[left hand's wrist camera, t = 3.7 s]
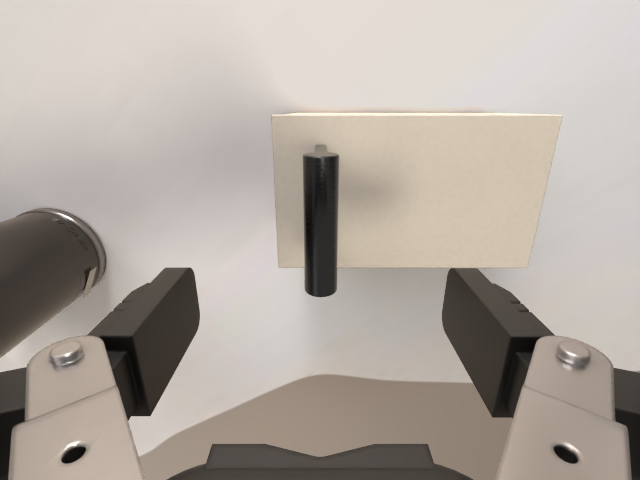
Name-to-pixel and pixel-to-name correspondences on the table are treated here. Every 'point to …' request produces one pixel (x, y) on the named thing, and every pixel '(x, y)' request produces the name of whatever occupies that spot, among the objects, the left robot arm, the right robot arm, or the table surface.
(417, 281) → the table surface
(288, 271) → the table surface
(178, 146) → the table surface
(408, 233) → the lid
